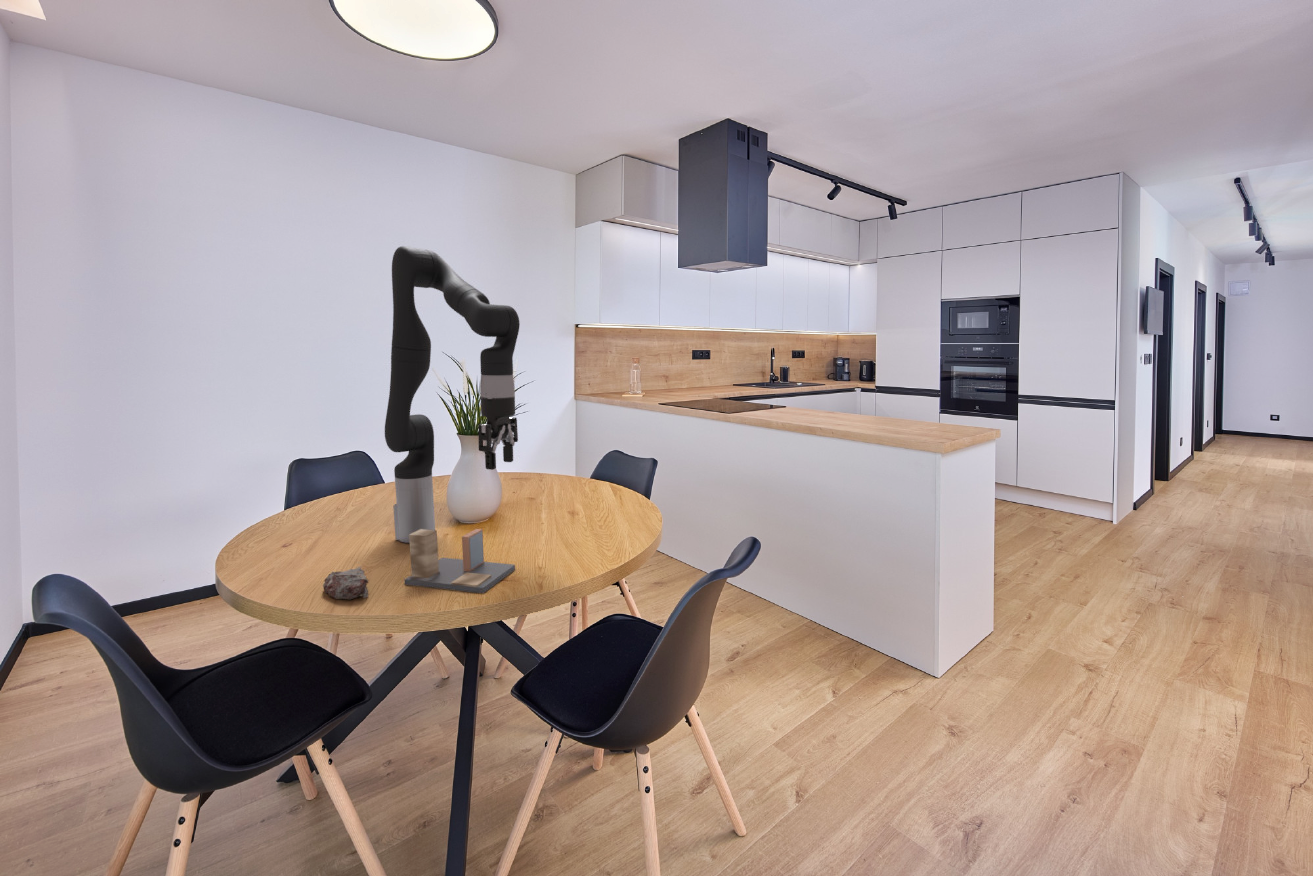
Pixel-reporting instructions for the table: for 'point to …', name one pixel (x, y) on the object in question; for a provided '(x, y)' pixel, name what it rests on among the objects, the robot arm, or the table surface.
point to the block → (424, 555)
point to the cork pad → (471, 579)
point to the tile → (472, 550)
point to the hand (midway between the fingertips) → (499, 465)
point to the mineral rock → (346, 584)
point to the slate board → (454, 570)
